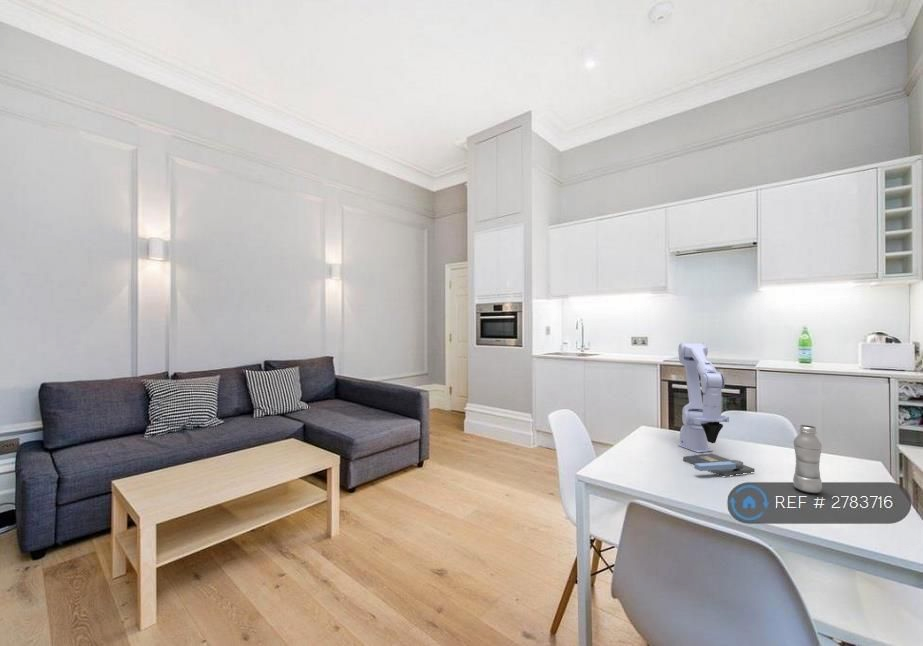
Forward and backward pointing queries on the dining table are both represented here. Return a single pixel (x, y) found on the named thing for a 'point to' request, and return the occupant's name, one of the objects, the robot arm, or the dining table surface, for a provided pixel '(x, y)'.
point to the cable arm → (719, 465)
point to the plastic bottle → (807, 460)
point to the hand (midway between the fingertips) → (711, 442)
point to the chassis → (715, 458)
